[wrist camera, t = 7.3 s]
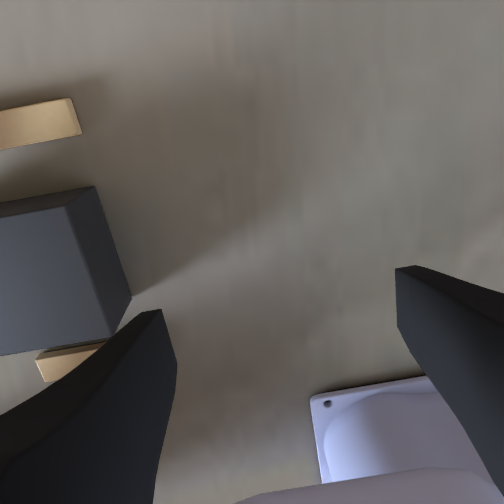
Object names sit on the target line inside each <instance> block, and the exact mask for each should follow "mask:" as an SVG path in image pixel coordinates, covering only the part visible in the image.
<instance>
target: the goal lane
mask: <svg viewBox="0 0 504 504" xmlns="http://www.w3.org/2000/svg"><path fill="white" fill-rule="evenodd" d="M81 134H82V131H81V128H80V125H79V122H78V119H77V116H76V113H75V110H74V107H73V104H72V101H71V99H70V98H63V99H58V100H52V101H47V102H42V103H37V104H32V105H26V106H21V107H16V108H11V109H6V110H0V150H3V149H8V148H13V147H19V146H24V145H29V144H34V143H40V142H45V141H50V140H56V139H61V138H66V137H71V136H77V135H81ZM105 343H106V342H103V343H98V344H92V345H86V346H80V347H75V348H69V349H63V350H58V351H52V352H46V353H41V354H39V355H38V357H37V358H36V359H35V361H36V364H37V366H38V368H39V370H40V372H41V374H42V376H43V379H44V381H45V382H49V381H55V380H59V379H61V378H62V377H63V376H65V375H66V374H68V373H69V372H70V371H72V370H73V369H74V368H76V367H77V366H78V365H79V364H81V363H82V362H83V361H84V360H85V359H87V358H88V357H89V356H90V355H92V354H93V353H94V352H95V351H97V350H98V349H99V348H100V347H101V346H103V345H104V344H105Z"/></svg>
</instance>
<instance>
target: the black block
mask: <svg viewBox="0 0 504 504" xmlns="http://www.w3.org/2000/svg"><path fill="white" fill-rule="evenodd" d="M131 299H132V297H131V294H130V291H129V288H128V285H127V282H126V279H125V276H124V273H123V270H122V267H121V264H120V261H119V258H118V254H117V251H116V248H115V245H114V242H113V239H112V236H111V233H110V230H109V227H108V224H107V221H106V218H105V215H104V212H103V209H102V206H101V203H100V200H99V197H98V194H97V190H96V187H95V186H90V187H85V188H79V189H74V190H68V191H63V192H57V193H52V194H46V195H41V196H36V197H30V198H25V199H19V200H14V201H8V202H3V203H0V356H4V355H10V354H16V353H22V352H27V351H33V350H39V349H45V348H50V347H56V346H62V345H68V344H73V343H79V342H85V341H91V340H96V339H102V338H108V337H112V336H113V335H114V333H115V331H116V329H117V327H118V325H119V323H120V321H121V319H122V317H123V315H124V313H125V311H126V309H127V307H128V305H129V303H130V301H131Z"/></svg>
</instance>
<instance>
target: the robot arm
mask: <svg viewBox="0 0 504 504" xmlns="http://www.w3.org/2000/svg"><path fill="white" fill-rule="evenodd" d="M395 281H396V307H397V327H398V329H399V331H400V333H401V335H402V337H403V339H404V341H405V343H406V345H407V347H408V348H409V350H410V352H411V354H412V355H413V357H414V358H415V360H416V361H417V363H418V364H419V365H420V367H421V368H422V370H423V371H424V372H425V374H426V375H427V376H422V377H416V378H410V379H404V380H398V381H392V382H386V383H380V384H375V385H369V386H363V387H357V388H351V389H345V390H339V391H333V392H327V393H322V394H316V395H314V396H312V397H311V399H310V407H311V413H312V420H313V426H314V433H315V439H316V446H317V452H318V459H319V465H320V472H321V478H322V484H318V485H312V486H305V487H299V488H293V489H286V490H280V491H274V492H268V493H261V494H258V495H256V496H253V497H250V498H247V499H245V500H242V501H239V502H236V503H234V504H504V293H500V292H497V291H493V290H490V289H487V288H484V287H481V286H478V285H475V284H472V283H469V282H466V281H463V280H460V279H457V278H454V277H451V276H449V275H446V274H443V273H440V272H437V271H434V270H431V269H428V268H425V267H421V266H417V265H414V266H408V267H402V268H396V269H395ZM176 375H177V361H176V357H175V354H174V350H173V347H172V343H171V340H170V337H169V333H168V330H167V326H166V323H165V320H164V316H163V313H162V309H157V310H151V311H146V312H141V313H140V314H138V315H137V316H136V317H135V318H133V319H132V320H131V321H130V322H129V323H128V324H126V325H125V326H124V327H123V328H122V329H121V330H120V331H118V332H117V333H116V334H115V335H114V336H113V337H112V338H111V339H109V340H108V341H107V342H106V343H105V344H104V345H103V346H101V347H100V348H99V349H98V350H97V351H95V352H94V353H93V354H92V355H90V356H89V357H88V358H87V359H85V360H84V361H83V362H82V363H81V364H79V365H78V366H77V367H76V368H74V369H73V370H72V371H70V372H69V373H68V374H66V375H65V376H63V377H62V378H61V379H59V380H58V381H56V382H55V383H53V384H52V385H50V386H49V387H47V388H46V389H44V390H43V391H41V392H40V393H38V394H36V395H35V396H33V397H31V398H30V399H28V400H26V401H25V402H23V403H21V404H19V405H18V406H16V407H14V408H13V409H11V410H9V411H8V412H6V413H4V414H2V415H0V504H153V497H154V489H155V481H156V474H157V469H158V464H159V459H160V454H161V450H162V446H163V442H164V437H165V433H166V429H167V425H168V420H169V416H170V412H171V407H172V403H173V399H174V394H175V386H176ZM327 400H330V401H329V402H325V401H327Z"/></svg>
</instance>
